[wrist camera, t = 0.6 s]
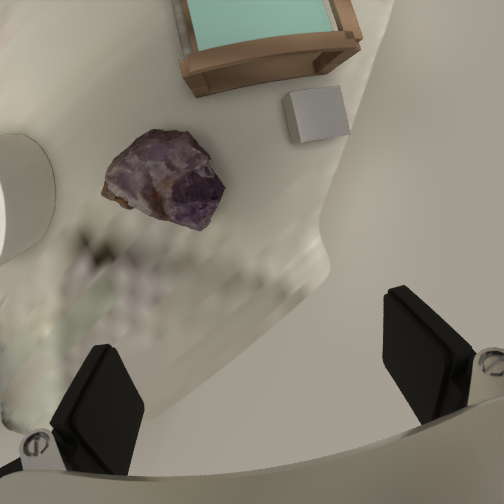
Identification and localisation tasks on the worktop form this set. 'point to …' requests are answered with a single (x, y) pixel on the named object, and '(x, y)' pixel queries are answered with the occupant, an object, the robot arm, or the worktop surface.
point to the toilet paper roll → (23, 195)
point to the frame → (265, 53)
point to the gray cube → (315, 114)
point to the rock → (165, 179)
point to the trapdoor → (254, 20)
